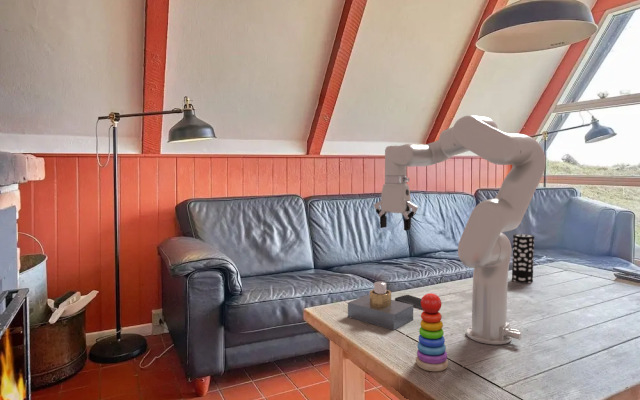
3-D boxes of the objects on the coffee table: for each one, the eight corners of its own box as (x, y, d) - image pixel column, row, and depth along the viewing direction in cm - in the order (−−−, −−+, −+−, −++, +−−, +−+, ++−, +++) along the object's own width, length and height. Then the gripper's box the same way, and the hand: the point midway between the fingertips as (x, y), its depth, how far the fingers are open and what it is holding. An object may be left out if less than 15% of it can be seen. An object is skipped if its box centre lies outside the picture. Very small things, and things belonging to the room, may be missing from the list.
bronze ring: (395, 303, 144) (395, 291, 144) (383, 308, 139) (383, 296, 139) (377, 299, 149) (377, 287, 149) (365, 304, 144) (365, 292, 143)
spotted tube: (507, 279, 193) (508, 234, 191) (522, 277, 195) (524, 233, 194) (521, 283, 185) (523, 237, 183) (537, 282, 187) (538, 236, 186)
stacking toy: (424, 355, 116) (425, 287, 114) (453, 364, 111) (454, 292, 109) (410, 366, 110) (410, 294, 108) (440, 376, 105) (441, 300, 103)
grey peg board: (413, 319, 143) (413, 284, 142) (393, 330, 134) (394, 292, 133) (368, 308, 155) (368, 275, 154) (347, 317, 146) (347, 282, 145)
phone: (407, 294, 168) (439, 304, 157) (407, 297, 169) (439, 307, 157) (393, 298, 164) (425, 308, 152) (393, 301, 164) (425, 311, 152)
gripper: (422, 181, 150) (422, 229, 151) (380, 180, 161) (380, 225, 163) (412, 181, 144) (411, 232, 146) (369, 180, 156) (368, 227, 157)
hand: (395, 228), depth 154 cm, fingers open, 9 cm apart
